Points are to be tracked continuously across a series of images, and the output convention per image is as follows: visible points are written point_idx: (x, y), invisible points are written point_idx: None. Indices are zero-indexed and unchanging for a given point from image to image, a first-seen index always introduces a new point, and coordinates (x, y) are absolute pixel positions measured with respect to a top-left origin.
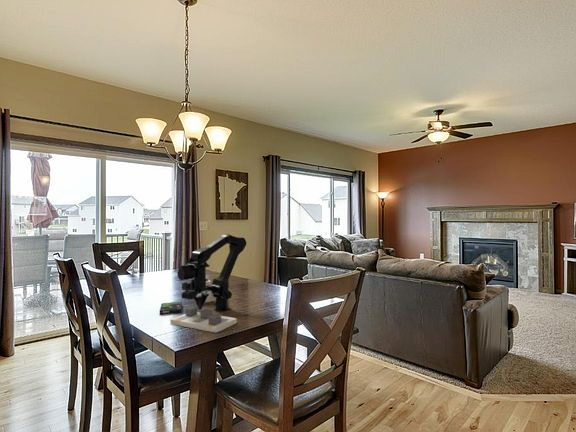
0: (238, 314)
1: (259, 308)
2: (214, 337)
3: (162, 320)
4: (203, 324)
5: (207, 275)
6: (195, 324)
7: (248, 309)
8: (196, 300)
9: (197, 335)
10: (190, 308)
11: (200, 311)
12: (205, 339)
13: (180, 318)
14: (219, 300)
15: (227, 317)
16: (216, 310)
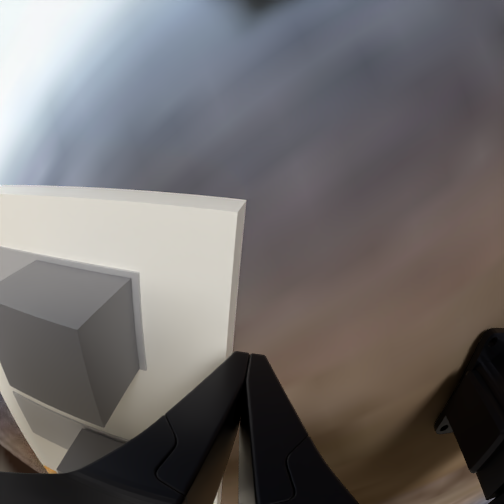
0: (373, 500)
1: (478, 493)
2: (46, 473)
3: (9, 42)
4: (42, 454)
5: None
6: (15, 417)
7: (472, 479)
8: (130, 479)
9: (9, 426)
10: (20, 358)
11: (57, 468)
12: (18, 452)
13: None
14: (492, 476)
15: None
16: (468, 366)
